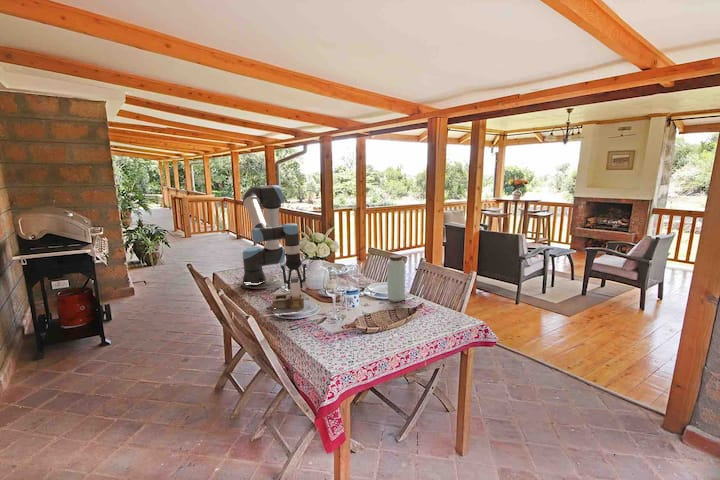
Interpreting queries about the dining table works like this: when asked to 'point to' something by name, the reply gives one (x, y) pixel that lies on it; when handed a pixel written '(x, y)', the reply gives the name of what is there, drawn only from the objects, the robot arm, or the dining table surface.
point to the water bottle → (396, 278)
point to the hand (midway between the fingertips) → (295, 294)
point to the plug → (295, 287)
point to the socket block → (288, 301)
